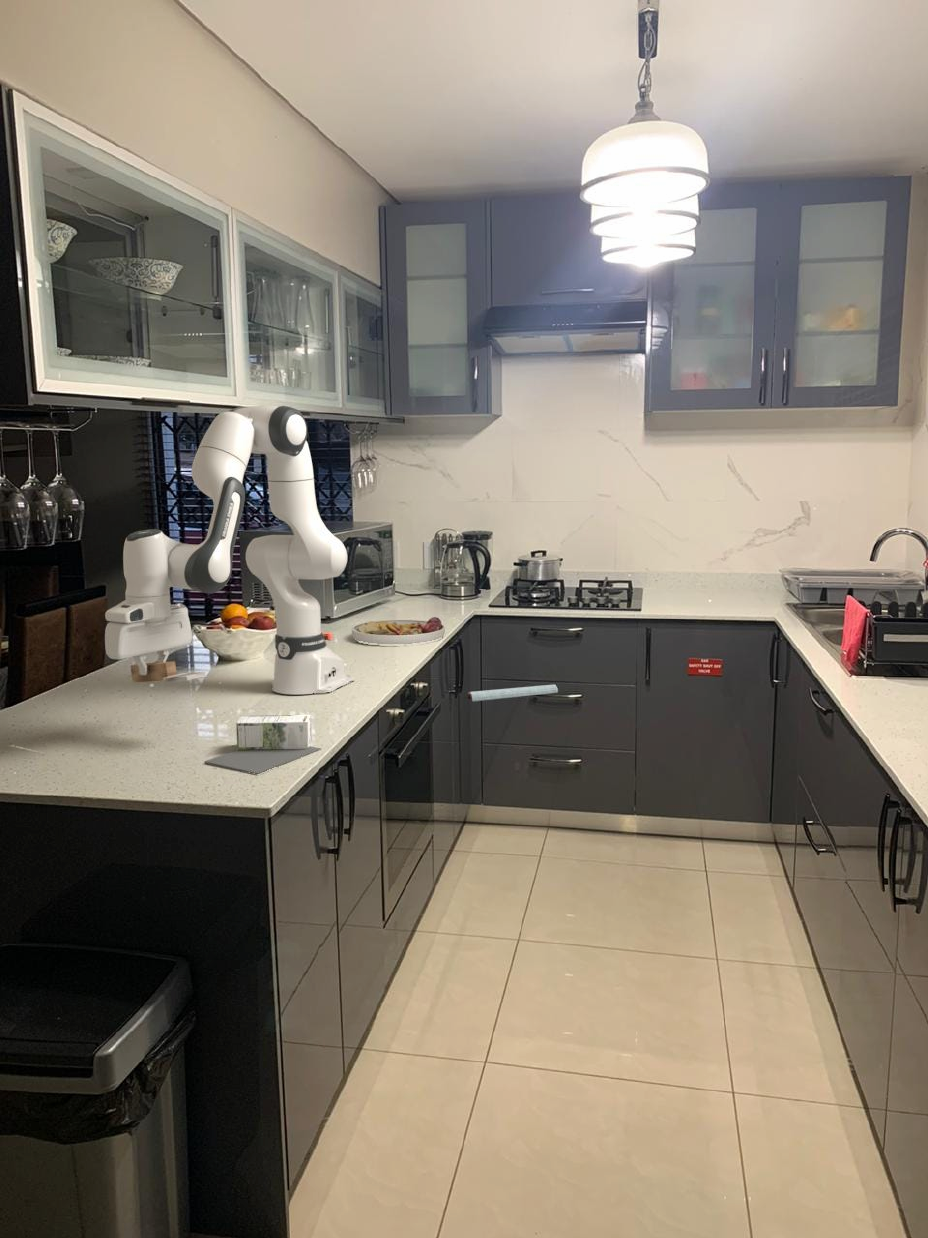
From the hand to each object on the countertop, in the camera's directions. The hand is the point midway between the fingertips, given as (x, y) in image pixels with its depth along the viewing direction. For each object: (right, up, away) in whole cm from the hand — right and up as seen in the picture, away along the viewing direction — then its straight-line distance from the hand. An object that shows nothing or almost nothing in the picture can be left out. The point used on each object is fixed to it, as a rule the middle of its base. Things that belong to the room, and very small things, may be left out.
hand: (152, 672), depth 202 cm
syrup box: (+20, -12, -9) cm, 25 cm away
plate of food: (+45, +4, +107) cm, 116 cm away
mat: (+27, -16, -14) cm, 34 cm away
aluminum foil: (+78, -9, +29) cm, 84 cm away
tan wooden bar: (+4, -1, -2) cm, 5 cm away
